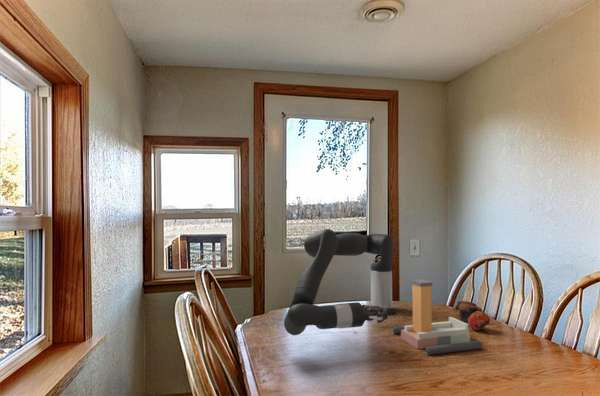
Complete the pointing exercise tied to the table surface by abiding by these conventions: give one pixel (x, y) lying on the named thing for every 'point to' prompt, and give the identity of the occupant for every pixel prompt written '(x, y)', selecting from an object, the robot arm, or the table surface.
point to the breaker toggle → (422, 305)
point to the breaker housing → (437, 334)
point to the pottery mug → (466, 310)
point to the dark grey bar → (453, 347)
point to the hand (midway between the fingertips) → (395, 311)
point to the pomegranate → (478, 320)
